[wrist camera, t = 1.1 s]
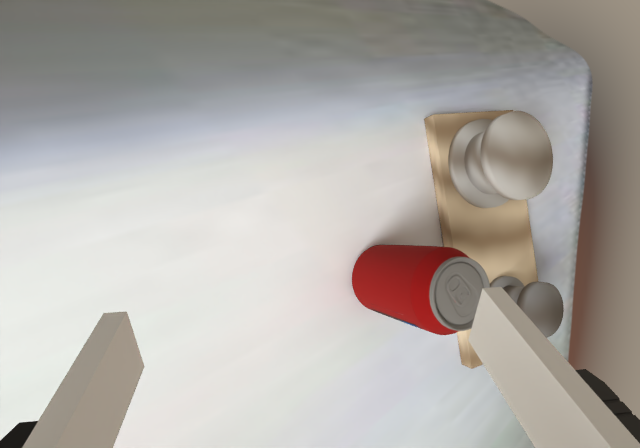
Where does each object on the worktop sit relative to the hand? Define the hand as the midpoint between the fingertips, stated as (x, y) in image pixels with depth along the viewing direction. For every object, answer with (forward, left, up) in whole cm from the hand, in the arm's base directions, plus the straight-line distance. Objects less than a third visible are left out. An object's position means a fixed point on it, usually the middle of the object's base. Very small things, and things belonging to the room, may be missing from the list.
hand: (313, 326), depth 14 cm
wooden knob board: (+1, +29, -20) cm, 35 cm away
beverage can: (+3, +14, -20) cm, 25 cm away
